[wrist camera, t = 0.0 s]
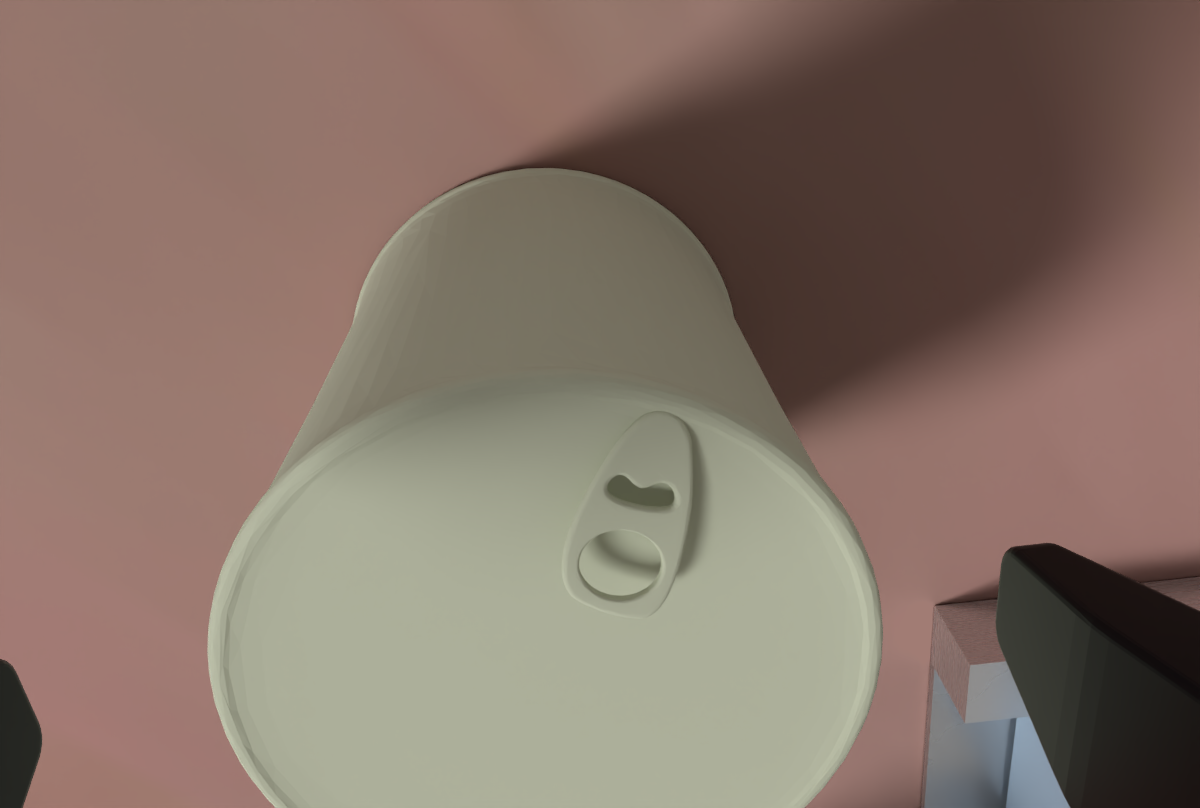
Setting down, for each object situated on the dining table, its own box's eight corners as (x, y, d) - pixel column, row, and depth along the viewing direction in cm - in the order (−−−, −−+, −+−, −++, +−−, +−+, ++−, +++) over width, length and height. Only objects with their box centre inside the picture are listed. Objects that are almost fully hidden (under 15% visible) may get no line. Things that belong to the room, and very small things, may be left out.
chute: (916, 864, 32) (945, 934, 30) (934, 605, 27) (970, 665, 25) (1246, 827, 32) (1300, 893, 30) (1318, 563, 27) (1388, 618, 25)
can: (796, 241, 23) (1033, 511, 12) (655, 557, 26) (738, 988, 15) (409, 107, 21) (270, 282, 10) (314, 466, 24) (136, 880, 14)
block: (1005, 807, 30) (1087, 958, 26) (1021, 684, 28) (1113, 825, 24) (1163, 789, 30) (1273, 937, 26) (1191, 664, 28) (1315, 801, 24)
